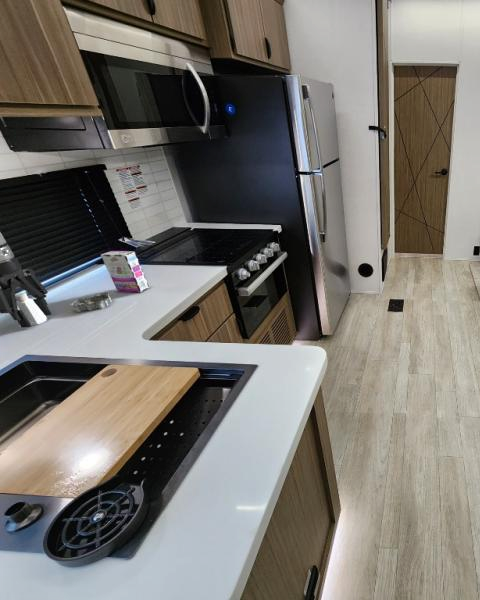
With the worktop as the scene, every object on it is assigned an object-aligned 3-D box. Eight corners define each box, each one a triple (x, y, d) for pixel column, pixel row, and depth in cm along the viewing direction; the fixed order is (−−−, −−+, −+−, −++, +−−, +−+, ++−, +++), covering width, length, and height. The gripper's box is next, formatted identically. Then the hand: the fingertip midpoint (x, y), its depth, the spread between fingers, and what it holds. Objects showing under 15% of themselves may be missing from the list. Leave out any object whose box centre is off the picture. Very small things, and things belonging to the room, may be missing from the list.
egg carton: (114, 300, 131) (110, 290, 129) (105, 309, 125) (101, 299, 123) (82, 303, 128) (77, 294, 126) (72, 313, 122) (66, 303, 120)
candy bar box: (150, 287, 141) (135, 251, 133) (141, 292, 136) (125, 255, 128) (126, 286, 142) (110, 250, 134) (116, 291, 137) (99, 254, 130)
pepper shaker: (27, 327, 114) (8, 299, 108) (25, 322, 117) (7, 294, 112) (48, 321, 117) (31, 293, 112) (46, 316, 120) (30, 289, 115)
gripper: (-23, 272, 97) (21, 336, 108) (39, 249, 115) (71, 306, 126) (-50, 273, 97) (-3, 337, 108) (16, 249, 115) (51, 306, 126)
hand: (37, 320), depth 117 cm, fingers open, 7 cm apart
